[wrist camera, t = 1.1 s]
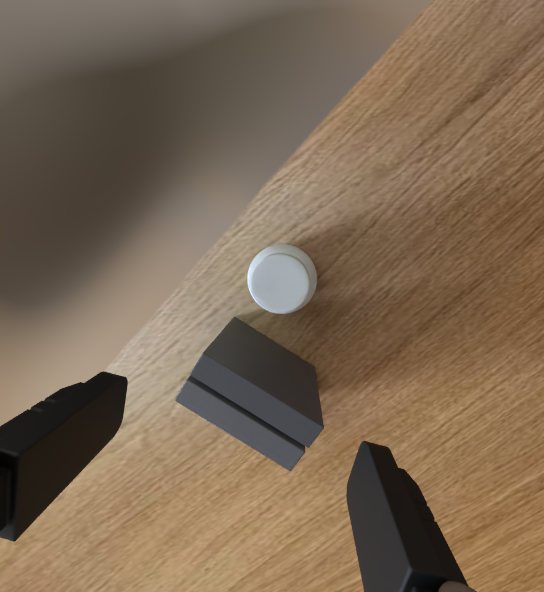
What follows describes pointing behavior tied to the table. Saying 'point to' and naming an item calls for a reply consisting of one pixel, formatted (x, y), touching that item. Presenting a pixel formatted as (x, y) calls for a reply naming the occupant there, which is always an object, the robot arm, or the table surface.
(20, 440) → the robot arm
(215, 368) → the grey box
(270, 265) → the supplement bottle
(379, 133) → the table surface
